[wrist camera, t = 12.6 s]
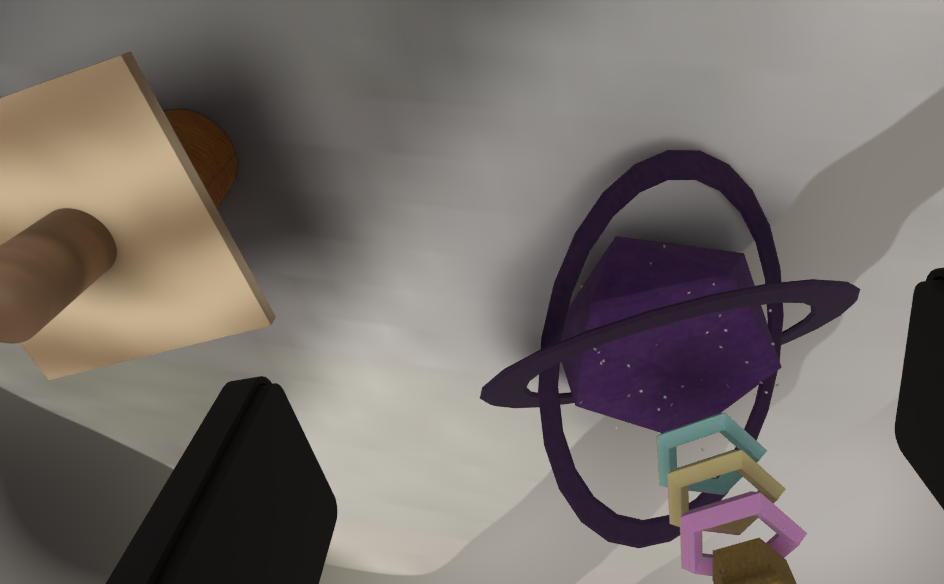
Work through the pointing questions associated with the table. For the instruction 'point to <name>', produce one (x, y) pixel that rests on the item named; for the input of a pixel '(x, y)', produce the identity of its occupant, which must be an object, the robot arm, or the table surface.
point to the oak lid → (110, 229)
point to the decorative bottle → (674, 369)
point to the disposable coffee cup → (206, 151)
